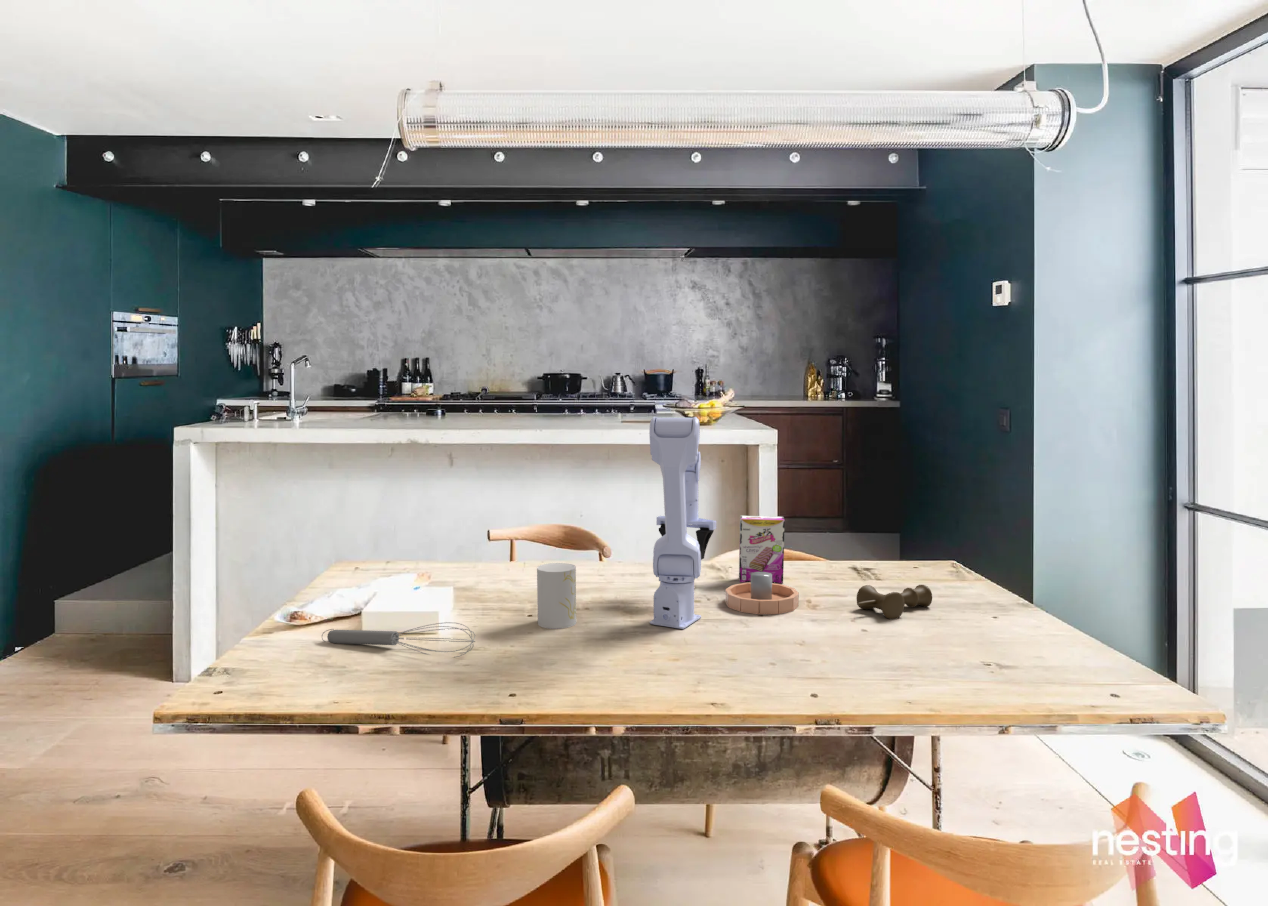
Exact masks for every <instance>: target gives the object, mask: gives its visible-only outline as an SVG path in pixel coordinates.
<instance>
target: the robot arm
mask: <svg viewBox="0 0 1268 906" xmlns="http://www.w3.org/2000/svg"><path fill="white" fill-rule="evenodd" d="M700 427H701V426H700V419H699V418H698V416H693V417H667V416H666V417H663V416H661V417H660V416H653V417H652V418H651V419H650V423H649V433H648V434H649V448H650V449H649V451H650V456H651V460H652V461H653V462H654V463H655V464H658V465H659V467H660V468H659V469H660V471H661V475H662V476H661V477H662V486H663V489H662V490H663V505H664V507H663V508H664V515H659V516H658V515H657V516H656V526H660V527H659V528H658V532H659V534H660V535H661V536H660V537H659V538H657V539H656V541H655V542H654V546H653V553H652V554H653V557H652V571H653V575H654V576H655V577H656V578H658V582H659V583H660V584H659V587H658V588H657V589H656V590H655V591H654V594H653V619H652V620H649V624H650V625H655V626H662V627H666V628H667V627H668V628H675V629H681V630H684V629H686V628H687V627H689V626H691V625H692V624H693V623H695V622H696V621H698V620H699V619H701V618H702V615H701V614H695V580H696V579H698V578H699V577H701V572H702V560H703V559H705V556H706V555H705V554H706V550H707V547H708V544H709V542H710V539H711V537H712V536H713V533H714V530H717V520H713V519H707V518H701V517H699V481H700V473H701V466H702V465H701V464H702V461H701V460H702V457H701V456H702V455H701V451H699V445H700V438H701V437H700V436H701V435H700V434H701V431H700V429H701V428H700ZM687 528H694V529H698V530H695V534H696V538H694V537H693V536H692V535H690V534H689V533H688V531H687V530H688V529H687Z"/></svg>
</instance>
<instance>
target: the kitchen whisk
mask: <svg viewBox="0 0 1268 906" xmlns="http://www.w3.org/2000/svg"><path fill="white" fill-rule="evenodd" d="M439 624H440V625H439ZM441 624H443V622H438V623H432V624H431V623H430V624H426V625H421V626H418V627H414V628H410V629H407V630H404V631H401V632H398V631H397V630H368V629H367V630H364V629H363V630H362V629H334V628H331V629H326V630H325V631H324V632H322V634H321V640H322V641H323V642H326V640H324V638H323V635H324V634H325V633H326V632H328V633H327V641H328V642H330V643H333V644H344V645H345V644H346V645H347V644H349V645H368V646H369V645H371V646H376V645H378V646H397V645H400V646H401V647H405V648H407V649H409V650H412V651H414V652H418V653H421V654H424V655H427V653H425V652H423V651H429V652H437V653H451V652H453V653H454V652H458V651H462V652H461V654H460V655H457V656H455V658H459V657H461V656H464V655H466V654H467V653H468V652H471V651H472V650H473V648H474V647H475V646H474V645H473V644H474V643H475V642H476V640H475V638H476V634H475V632H474V631H472V630H471V629H470V628H469V627H468V626H466V624H465V625H464V624H463V623H458V622H455V624H456V625H460V626H464V627H465V628H459V627H456V626H455V627H454V626H449V625H447V626H445V625H443V626H442V625H441ZM444 624H453V622H447V621H445V622H444ZM435 625H438V626H435ZM432 626H434V628H437V629H435V631H443V630H444V628H449V630H460V631H463V632H464V633H466V634H467V635H469V638H470V639H465V638H464V639H463V638H454V640H450V637H449V638H446V637H445V638H444V637H421V638H407V640H409V641H410V640H411V641H412V640H414V641H423V640H427V641H433V642H434V641H435V642H445V640H450V642H453V643H454V642H457V643H459V642H460V643H469V644H468V645H467V646H465V647H463V648H460V649H456V650H448V651H447V650H446V651H445V650H444V651H443V650H433V649H429V648H425V647H422V646H421V647H420V646H416V645H412V644H409V643H404V642H402V641H399V640H403V637H400V636H404V635H405V636H406V635H410V634H411V635H412V634H416V633H417V634H419V633H423V632H426V630H423V629H429V630H427V632H432V631H434V629H430V628H432ZM466 628H467V629H466ZM417 630H422V631H417ZM413 631H415V632H413ZM467 631H469V632H467ZM469 633H470V634H469ZM473 636H474V637H473ZM410 647H411V648H410ZM468 647H469V648H468ZM467 648H468V649H467ZM416 649H417V650H416ZM419 649H420V651H419ZM464 649H467V650H466V651H465V652H464V651H463V650H464ZM421 650H423V651H421ZM428 655H431V654H430V653H428Z"/></svg>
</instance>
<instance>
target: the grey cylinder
mask: <svg viewBox="0 0 1268 906" xmlns="http://www.w3.org/2000/svg"><path fill="white" fill-rule="evenodd" d="M751 599H757V600H772V574H771V573H768V572H753V573H751Z"/></svg>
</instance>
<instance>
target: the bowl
mask: <svg viewBox="0 0 1268 906" xmlns="http://www.w3.org/2000/svg"><path fill="white" fill-rule="evenodd" d="M799 595H800V594H799V592H798V590H797V589H796V588H794V587H791V586H789V585H785V584H782V583H772V600H757V599H751V582H740V583H736V584H732V585H730V586H729V587H727V588H725V600H724V601H725V604H726V606H727V608H729V609H732V610H734V611H738V612H739V613H744V614H745V613H746V614H754V615H781V614H785V613H791V612H794V611H795V610H796V609H798V608H799V605H800V604H799V602H800V601H799V598H800V597H799Z"/></svg>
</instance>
